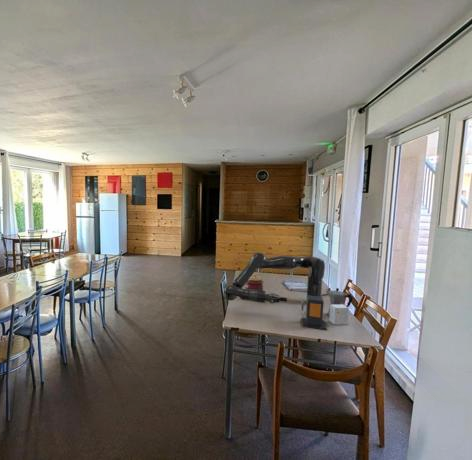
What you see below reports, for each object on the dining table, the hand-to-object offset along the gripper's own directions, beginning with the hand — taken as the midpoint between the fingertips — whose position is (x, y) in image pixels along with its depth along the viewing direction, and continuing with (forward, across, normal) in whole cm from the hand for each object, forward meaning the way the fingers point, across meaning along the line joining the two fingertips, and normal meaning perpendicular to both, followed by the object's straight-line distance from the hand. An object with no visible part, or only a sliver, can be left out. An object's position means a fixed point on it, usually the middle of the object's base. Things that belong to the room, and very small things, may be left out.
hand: (286, 299), depth 176 cm
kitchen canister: (-23, +39, +13) cm, 47 cm away
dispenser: (+15, 0, +13) cm, 20 cm away
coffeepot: (+31, +19, +13) cm, 38 cm away
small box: (+29, +8, +13) cm, 33 cm away
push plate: (+9, 0, +4) cm, 10 cm away
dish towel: (+8, +79, +13) cm, 80 cm away
